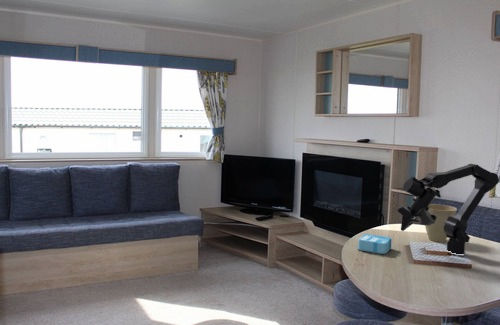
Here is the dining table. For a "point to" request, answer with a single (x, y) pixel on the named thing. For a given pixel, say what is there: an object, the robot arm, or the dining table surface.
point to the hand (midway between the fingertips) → (401, 230)
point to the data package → (374, 243)
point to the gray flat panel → (368, 251)
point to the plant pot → (439, 221)
